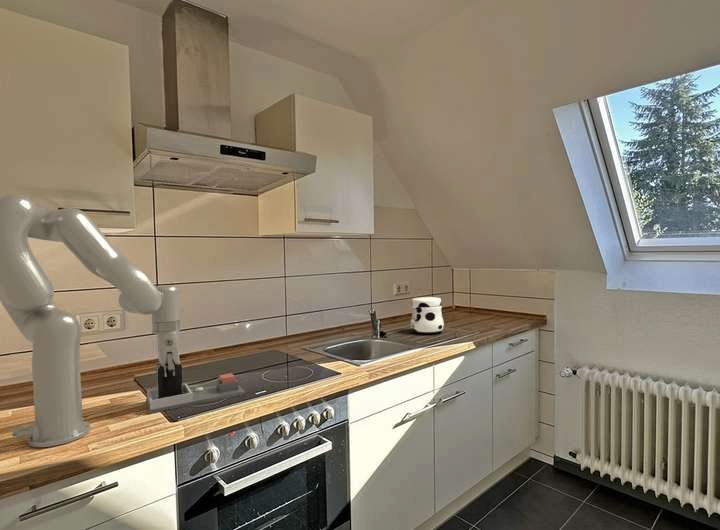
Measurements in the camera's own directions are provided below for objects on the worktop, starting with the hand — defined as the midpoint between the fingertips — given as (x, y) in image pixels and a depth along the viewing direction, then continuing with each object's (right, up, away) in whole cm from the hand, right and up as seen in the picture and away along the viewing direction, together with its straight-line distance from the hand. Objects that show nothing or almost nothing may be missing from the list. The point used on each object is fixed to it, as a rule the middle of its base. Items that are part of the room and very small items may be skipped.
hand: (168, 386), depth 124 cm
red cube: (+15, -3, +9) cm, 18 cm away
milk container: (+93, 0, +95) cm, 133 cm away
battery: (0, -4, +1) cm, 4 cm away
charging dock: (+7, -5, +4) cm, 9 cm away
